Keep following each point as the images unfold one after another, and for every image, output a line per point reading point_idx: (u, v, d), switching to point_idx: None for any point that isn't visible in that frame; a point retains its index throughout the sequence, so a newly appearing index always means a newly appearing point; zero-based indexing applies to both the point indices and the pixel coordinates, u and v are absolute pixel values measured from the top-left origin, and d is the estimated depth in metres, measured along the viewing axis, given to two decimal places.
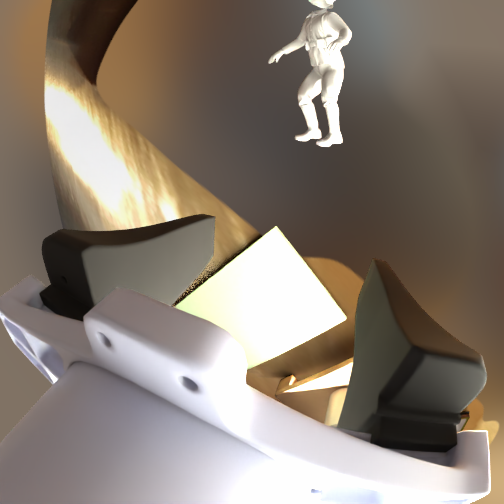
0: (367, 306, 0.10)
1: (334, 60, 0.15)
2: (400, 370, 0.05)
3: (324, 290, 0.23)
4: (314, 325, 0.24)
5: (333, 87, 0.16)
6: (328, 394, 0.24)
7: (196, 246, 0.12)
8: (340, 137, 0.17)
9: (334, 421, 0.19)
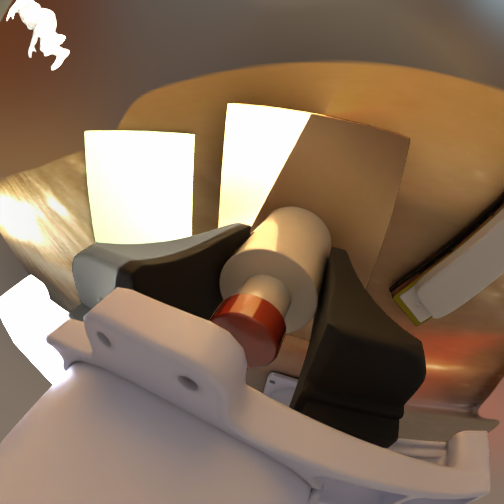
0: (322, 293, 0.10)
1: (37, 15, 0.11)
2: (320, 350, 0.05)
3: (147, 132, 0.16)
4: (175, 177, 0.17)
5: (37, 25, 0.11)
6: None
7: None
8: (59, 36, 0.12)
9: (222, 272, 0.10)
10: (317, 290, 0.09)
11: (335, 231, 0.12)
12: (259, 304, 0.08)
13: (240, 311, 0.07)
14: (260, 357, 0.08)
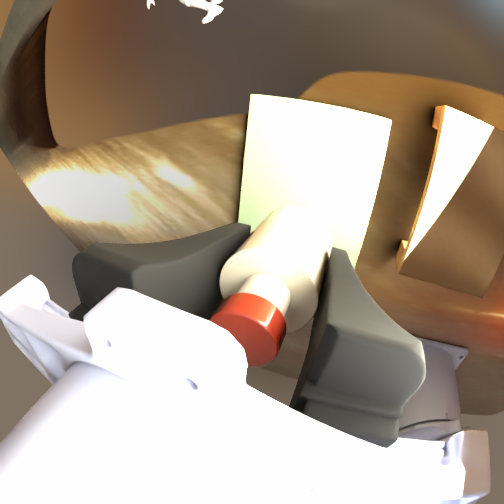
0: (321, 293, 0.10)
1: None
2: (319, 350, 0.05)
3: (344, 108, 0.16)
4: (370, 153, 0.17)
5: None
6: (451, 220, 0.15)
7: None
8: None
9: (223, 271, 0.10)
10: (317, 289, 0.09)
11: (498, 205, 0.13)
12: (259, 303, 0.08)
13: (240, 310, 0.07)
14: (260, 356, 0.08)
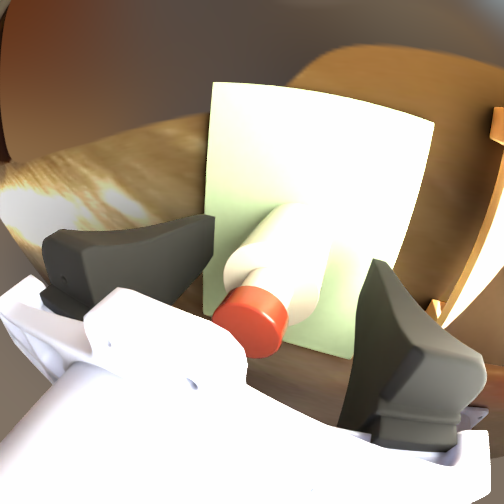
0: (367, 306, 0.10)
1: None
2: (400, 370, 0.05)
3: (360, 101, 0.10)
4: (400, 176, 0.11)
5: None
6: None
7: (196, 246, 0.12)
8: None
9: None
10: (318, 283, 0.09)
11: None
12: (263, 295, 0.08)
13: (244, 302, 0.08)
14: (263, 347, 0.08)
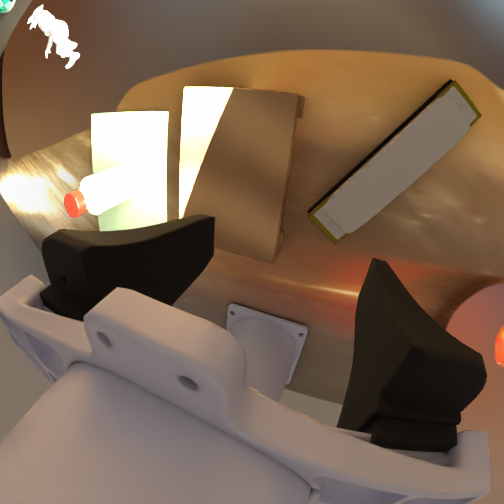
0: (367, 306, 0.10)
1: (53, 25, 0.17)
2: (400, 370, 0.05)
3: (136, 112, 0.21)
4: (155, 142, 0.22)
5: (55, 33, 0.17)
6: (206, 185, 0.20)
7: (196, 246, 0.12)
8: (72, 43, 0.18)
9: (81, 190, 0.22)
10: (103, 190, 0.21)
11: (254, 162, 0.18)
12: (76, 191, 0.19)
13: (69, 192, 0.19)
14: (75, 210, 0.20)
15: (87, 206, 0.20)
